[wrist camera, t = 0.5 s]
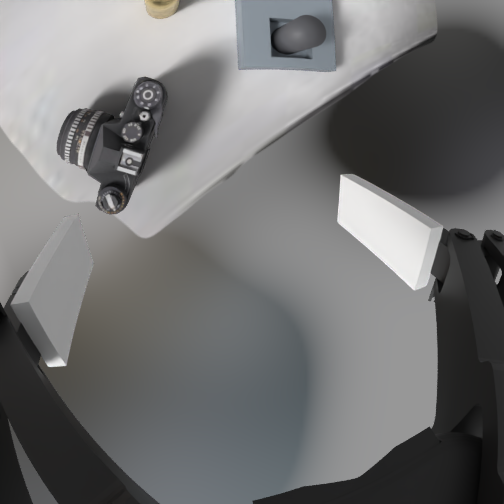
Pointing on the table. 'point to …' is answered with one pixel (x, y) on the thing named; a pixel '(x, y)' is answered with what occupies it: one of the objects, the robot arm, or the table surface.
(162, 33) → the table surface
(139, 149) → the camera
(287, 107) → the table surface
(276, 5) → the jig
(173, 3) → the brass cylinder
